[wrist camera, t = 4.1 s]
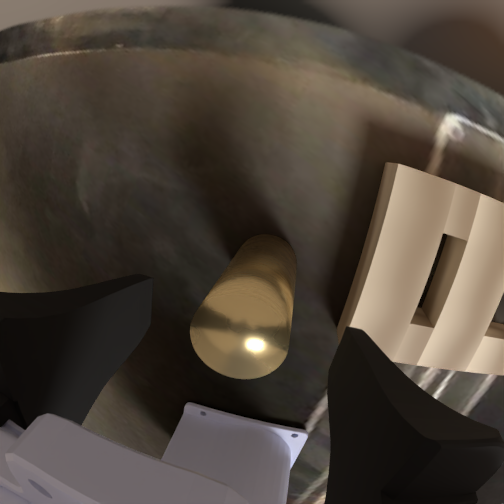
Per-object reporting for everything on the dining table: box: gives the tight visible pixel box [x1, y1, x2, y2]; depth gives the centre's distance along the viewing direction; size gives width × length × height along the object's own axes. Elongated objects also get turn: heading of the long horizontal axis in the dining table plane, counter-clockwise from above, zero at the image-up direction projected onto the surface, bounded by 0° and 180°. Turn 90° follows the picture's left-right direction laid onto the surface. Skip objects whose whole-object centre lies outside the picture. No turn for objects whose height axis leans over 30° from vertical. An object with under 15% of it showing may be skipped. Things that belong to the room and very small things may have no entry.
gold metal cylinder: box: [190, 234, 297, 379], centre depth 14 cm, size 3×3×8 cm
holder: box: [337, 162, 504, 375], centre depth 15 cm, size 16×10×2 cm, turn 79°
